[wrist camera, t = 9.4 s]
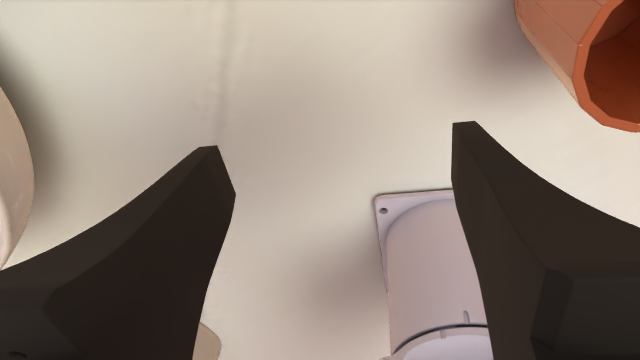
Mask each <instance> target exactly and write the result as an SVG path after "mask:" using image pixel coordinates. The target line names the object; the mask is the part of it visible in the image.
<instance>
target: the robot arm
mask: <svg viewBox="0 0 640 360" xmlns="http://www.w3.org/2000/svg"><path fill="white" fill-rule="evenodd" d="M451 181H452V187H453V190H441V191H428V192H415V193H403V194H390V195H380V196H378V197H376V199H375V211H376V218H377V225H378V233H379V240H380V247H381V254H382V262H383V269H384V276H385V283H386V291H387V293H388V300H389V324H390V347H391V356H388V357H385V358H381V359H379V360H640V228H639V227H637V226H634V225H632V224H629V223H627V222H624V221H622V220H620V219H617V218H615V217H613V216H611V215H608V214H606V213H604V212H602V211H600V210H598V209H596V208H594V207H592V206H590V205H588V204H586V203H584V202H582V201H580V200H578V199H576V198H574V197H572V196H571V195H569V194H567V193H566V192H564V191H562V190H561V189H559V188H557V187H556V186H554V185H552V184H551V183H549V182H548V181H546V180H545V179H543V178H542V177H540V176H539V175H537V174H536V173H535V172H533V171H532V170H530V169H529V168H528V167H526V166H525V165H524V164H522V163H521V162H520V161H519V160H517V159H516V158H515V157H514V156H513V155H512V154H510V153H509V152H508V151H507V150H506V149H505V148H503V147H502V146H501V145H500V144H499V143H498V142H497V141H496V140H495V139H494V138H493V137H492V136H490V135H489V134H488V133H487V132H486V131H485V130H484V129H483V128H482V127H481V126H480V125H479V124H478V123H477V122H476V121H468V122H458V123H453V129H452V165H451ZM235 197H236V193H235V191H234V188H233V185H232V183H231V180H230V178H229V175H228V172H227V170H226V167H225V164H224V162H223V159H222V157H221V154H220V151H219V149H218V146H217V145H216V146H205V147H199V148H197V149H196V150H194V151H193V152H192V153H190V154H189V155H188V156H187V157H185V158H184V159H183V160H182V161H180V162H179V163H178V164H177V165H176V166H174V167H173V168H172V169H171V170H170V171H168V172H167V173H166V174H165V175H164V176H162V177H161V178H160V179H159V180H158V181H156V182H155V183H154V184H153V185H151V186H150V187H149V188H148V189H146V190H145V191H144V192H142V193H141V194H140V195H138V196H137V197H136V198H135V199H133V200H132V201H131V202H129V203H128V204H127V205H125V206H124V207H122V208H121V209H119V210H118V211H117V212H115V213H114V214H112V215H110V216H109V217H107V218H106V219H104V220H103V221H101V222H100V223H98V224H96V225H95V226H93V227H91V228H89V229H87V230H86V231H84V232H82V233H80V234H78V235H77V236H75V237H73V238H71V239H70V240H68V241H66V242H64V243H62V244H60V245H58V246H56V247H54V248H52V249H50V250H48V251H46V252H44V253H41V254H39V255H37V256H35V257H33V258H30V259H28V260H26V261H24V262H21V263H19V264H16V265H14V266H11V267H9V268H6V269H4V270H1V271H0V360H192V359H193V353H194V347H195V342H196V337H197V332H198V327H199V322H200V317H201V313H202V309H203V304H204V300H205V296H206V292H207V288H208V285H209V282H210V278H211V276H212V273H213V270H214V267H215V264H216V262H217V259H218V256H219V253H220V251H221V248H222V245H223V242H224V239H225V237H226V234H227V231H228V228H229V225H230V222H231V218H232V213H233V208H234V202H235ZM381 208H386V209H385V210H382V209H381Z"/></svg>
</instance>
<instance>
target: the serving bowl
mask: <svg viewBox="0 0 640 360" xmlns="http://www.w3.org/2000/svg"><path fill="white" fill-rule="evenodd" d="M33 195H34V172H33V164H32V159H31V154H30V150H29V146H28V143H27V139H26V136H25V133H24V131H23V128H22V126H21V124H20V122H19V119H18V117H17V115H16V113H15V111H14V109H13V107H12V105H11V104H10V102H9V100H8V98H7V97H6V95H5V94H4V92H3V90H2V89H1V87H0V270H1V268H2V267H3V266H4V264H5V263H6V262H7V260H8V259H9V257H10V255H11V253H12V252H13V250H14V248H15V247H16V245H17V243H18V241H19V240H20V238H21V236H22V234H23V231H24V229H25V227H26V225H27V221H28V218H29V215H30V212H31V208H32V202H33Z"/></svg>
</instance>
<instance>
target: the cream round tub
mask: <svg viewBox="0 0 640 360" xmlns="http://www.w3.org/2000/svg"><path fill="white" fill-rule="evenodd" d="M220 349H221V343H220V340H219V339H218V337H217V336H216V335H215V334H214V333H213V332H212V331H210V330H209V329H208V328H207V327H205V326H204V325H202V324H201V323H199V327H198V332H197V337H196V342H195V347H194V353H193V359H192V360H218V356H219V353H220Z"/></svg>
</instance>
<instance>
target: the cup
mask: <svg viewBox="0 0 640 360" xmlns="http://www.w3.org/2000/svg"><path fill="white" fill-rule="evenodd" d="M514 7H515V14H516V18H517V21H518V23H519V25H520V28H521V29H522V31H523V32H524V35H525V37H526V38H527V39H528V41H529V42H530V43H531V44H532V46H533V47H534V48H535V50H536V51H537V52H538V53H539V55H540V56H541V57H542V59H543V60H544V61H545V62H546V64H547V65H548V66H549V68H550V69H551V70H552V71H553V73H554V74H555V75H556V77H557V78H558V79H559V80H560V82H561V83H562V84H563V86H564V87H565V88H566V89H567V91H568V92H569V93H570V95H571V96H572V97H573V98H574V100H575V101H576V102H577V104H578V105H579V106H580V107H581V108H582V109H583V110H584V111H585V112H587V113H588V114H589V115H590V116H591V117H592V118H594V119H595V120H596V121H597V122H598V123H600V124H601V125H603V126H608V127H612V128H616V129H620V130H624V131H629V132H640V0H514Z"/></svg>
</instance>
